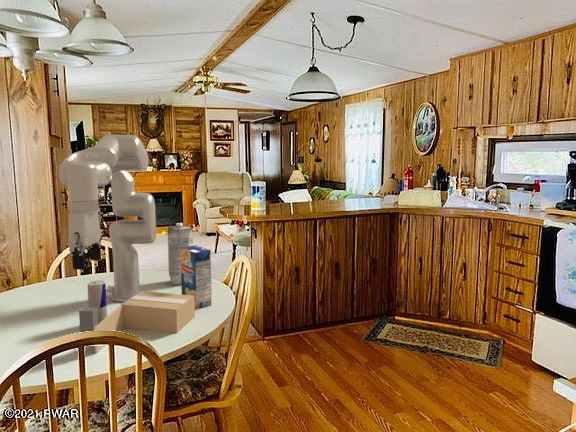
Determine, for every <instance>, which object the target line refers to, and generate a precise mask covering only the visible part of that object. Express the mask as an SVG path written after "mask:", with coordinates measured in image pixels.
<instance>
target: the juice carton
mask: <svg viewBox="0 0 576 432" xmlns="http://www.w3.org/2000/svg"><path fill="white" fill-rule="evenodd" d="M193 239H194V238H193V229H192V227H191V226H190V225H189V224H186V225H183V222H177V223H175V225H169V226H168V228H167V259H168V263H167V264H168V265H167V266H168V275H169V279H170V282H171V285H172V286H177V285H181V248H182V247H188V246H194V240H193Z"/></svg>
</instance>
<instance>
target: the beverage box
mask: <svg viewBox="0 0 576 432" xmlns="http://www.w3.org/2000/svg"><path fill="white" fill-rule="evenodd" d="M180 286H181V295H191V296H194V306H195V310H199V309H203V308H207V307H211V306H212V301H213V300H212V250H211V249H209V248H206V247H202V246H200V245H197V244H196V245H193V246H188V247H182V248H181V284H180Z"/></svg>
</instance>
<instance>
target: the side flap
mask: <svg viewBox="0 0 576 432" xmlns="http://www.w3.org/2000/svg"><path fill="white" fill-rule="evenodd" d="M78 315H79V316H78V317H79V331H80V332H85V331H94V330H116V331H118V332H120V331H121V330H122V328H124V327H123V311H122V305H119V306H118V307H116V309H114V310H113V311H112V312H110V314H109V315H108V314H107V317H106V318H105V319H104V320H103V321H101V322H100V323H99V324H98V310H97V308H95V307H89V306H88V307H87V306H85V307H82V308H81V309H79V310H78ZM102 348H104V346H94V353H96V354H97V353H99V352H100V350H101V349H102Z"/></svg>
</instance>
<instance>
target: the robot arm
mask: <svg viewBox="0 0 576 432" xmlns="http://www.w3.org/2000/svg"><path fill="white" fill-rule="evenodd" d="M148 166H149V155H148V151H147V150H146V148H145V146H144V144H143V142H142V140H141V139H140V138H139V137H138V136H137V135H135V134H106V135H104V136H102V137H101V138H100V139H99V140H98V141H97V142H96V143H95V145H94V146H92V147H88V148H85V149H83V150H78V151H76V152H73V153H70V154H69V155H68V156H66V158H65V159H64V160H63V161H62V162H61V164H60V166H59V169H58V178H59V180H60V182H61V183H62V184H63V185H64V186H67V187H68V201H69V215H68V242H67V245H68V248H69V252H70V256H71V257H72V258H71V260H72V269H73V270H81V271H82V270H85V269H86V260H85V257H86V256H85V255H84V251H85V248H88V247H89V260H90V261H101V260H102V251H101V250H102V248H101V246H102V243H101V242H102V240H103V239H102V234H103V231H102V230H101V225H100V223H101V222H100V216H99V211H100V207H99V206H100V205H99V188H98V187H104V186H107V185H109V184H110V185H111V206H112V212H113V214H114V215H115V216H117V217H122V218H127V217H128V218H129V217H131V218H136V217H137V218H142V219H120V220H115V221H113V222H112V223H111V224H110V225H109V229H108V233H109V234H108V235H109V238H110V243H111V249H112V261H113V263H112V268H113V285H110V284H109V285H107V287H106V292H108V293H109V292H110V293H111V294H110V300H111V301H113V302H116V303H124V302H126V301H128V300H130V298H132V297H134V296H135V295H138V294H140V293H141V292H143V291H142V290H141V289H140V267H139V265H140V264H139V254H138V251H137V249H136V248H135V247H134V246H133V245H140V244H141V245H148V244H153V243H154V242H155V240H156V237H157V223H156V220H157V219H156V203H155V202H156V201H155V198H154V196H153V195H152V194H151V193H149V192H148V193H147V192H136V189H135V188H136V187H135V179H134V176H133V175H132V174H131V173H130V172H143V171H145V170H147V168H148Z"/></svg>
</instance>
